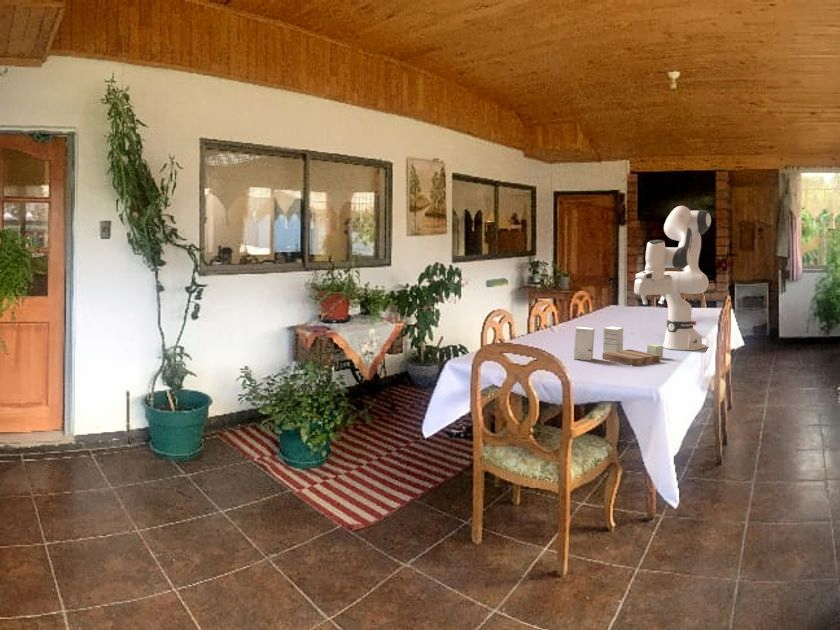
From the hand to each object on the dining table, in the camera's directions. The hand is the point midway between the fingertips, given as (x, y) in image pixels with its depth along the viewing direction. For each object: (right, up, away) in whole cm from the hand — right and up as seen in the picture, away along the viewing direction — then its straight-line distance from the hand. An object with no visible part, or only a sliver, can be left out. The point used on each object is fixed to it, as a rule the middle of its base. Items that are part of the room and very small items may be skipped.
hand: (653, 304), depth 333 cm
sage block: (+1, -25, +2) cm, 26 cm away
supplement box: (-15, -24, +14) cm, 32 cm away
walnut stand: (-12, -26, -5) cm, 29 cm away
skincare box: (-33, -26, -1) cm, 42 cm away
